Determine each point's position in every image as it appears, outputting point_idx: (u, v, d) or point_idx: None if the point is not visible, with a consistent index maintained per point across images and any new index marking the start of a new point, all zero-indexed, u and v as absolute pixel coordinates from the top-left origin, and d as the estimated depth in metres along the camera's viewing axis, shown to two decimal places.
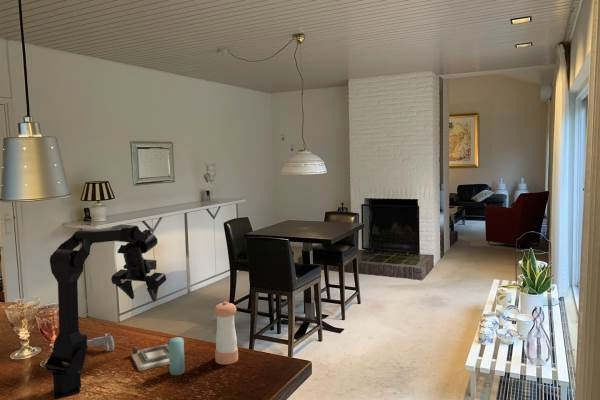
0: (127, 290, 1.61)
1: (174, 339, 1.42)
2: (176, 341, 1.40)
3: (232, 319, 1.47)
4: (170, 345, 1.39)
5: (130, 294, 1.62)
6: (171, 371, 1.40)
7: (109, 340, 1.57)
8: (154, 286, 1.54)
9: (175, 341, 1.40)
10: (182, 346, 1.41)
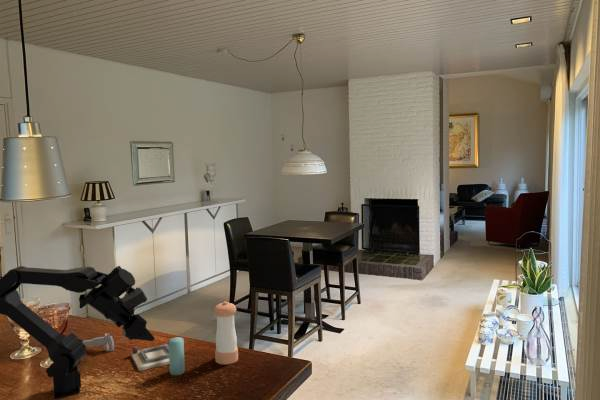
0: None
1: (174, 339, 1.42)
2: (176, 341, 1.40)
3: (232, 319, 1.47)
4: (170, 345, 1.39)
5: None
6: (171, 371, 1.40)
7: (109, 340, 1.57)
8: (128, 338, 1.25)
9: (175, 341, 1.40)
10: (182, 346, 1.41)
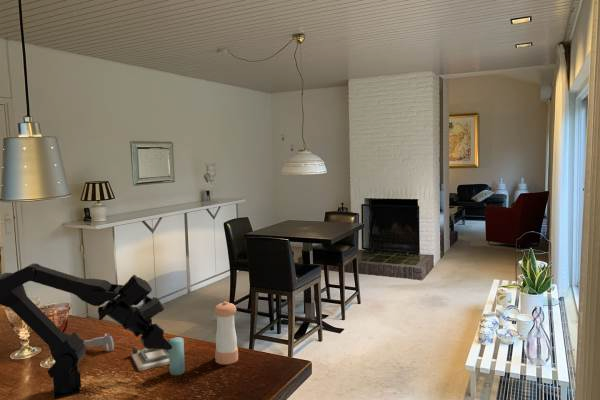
0: None
1: (174, 339, 1.42)
2: (176, 341, 1.40)
3: (232, 319, 1.47)
4: None
5: None
6: (171, 371, 1.40)
7: (109, 340, 1.57)
8: None
9: (175, 341, 1.40)
10: (182, 346, 1.41)
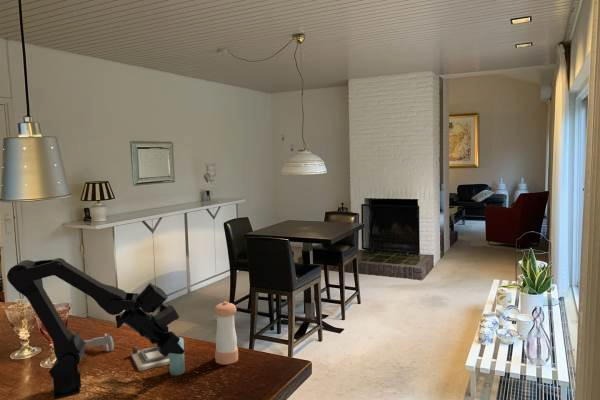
0: None
1: None
2: None
3: (232, 319, 1.47)
4: None
5: None
6: (171, 371, 1.40)
7: (108, 340, 1.57)
8: (163, 355, 1.30)
9: None
10: (182, 346, 1.41)
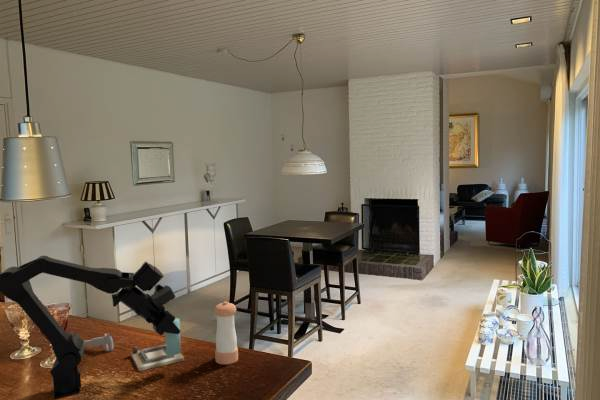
0: None
1: None
2: None
3: (232, 319, 1.47)
4: None
5: None
6: (167, 351, 1.41)
7: (108, 340, 1.57)
8: (159, 333, 1.31)
9: None
10: (178, 326, 1.41)
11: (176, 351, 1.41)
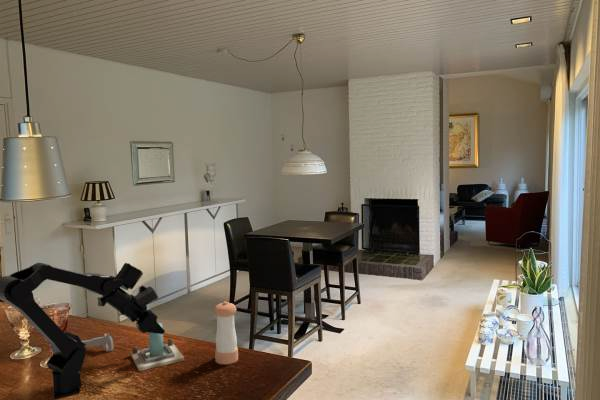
0: None
1: None
2: None
3: (232, 319, 1.47)
4: None
5: None
6: (151, 354, 1.50)
7: (108, 340, 1.57)
8: (142, 331, 1.40)
9: None
10: None
11: (159, 354, 1.50)
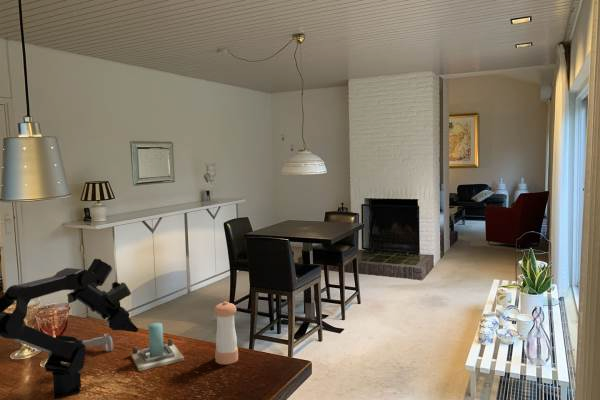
0: None
1: (154, 324, 1.51)
2: (155, 325, 1.50)
3: (232, 319, 1.47)
4: (150, 329, 1.49)
5: None
6: (151, 354, 1.50)
7: (108, 340, 1.57)
8: (112, 329, 1.35)
9: (154, 326, 1.49)
10: (161, 331, 1.50)
11: (159, 354, 1.50)
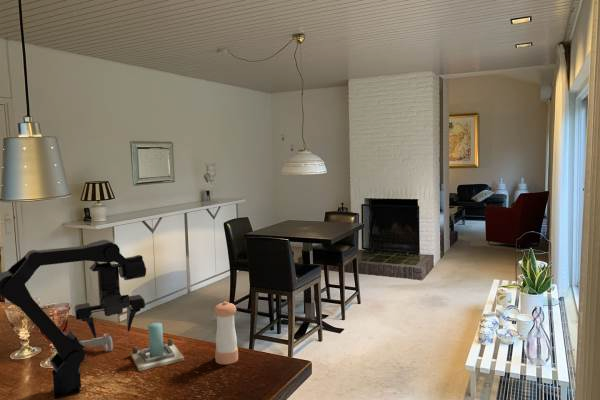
0: (127, 316, 1.41)
1: (153, 324, 1.51)
2: (155, 325, 1.50)
3: (232, 319, 1.47)
4: (149, 329, 1.49)
5: (127, 323, 1.41)
6: (151, 354, 1.50)
7: (108, 340, 1.57)
8: None
9: (154, 326, 1.49)
10: (161, 330, 1.50)
11: (159, 354, 1.50)
